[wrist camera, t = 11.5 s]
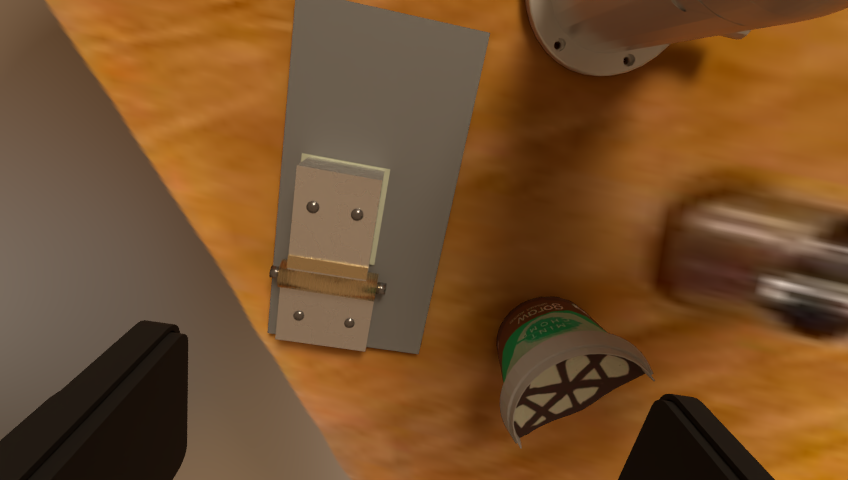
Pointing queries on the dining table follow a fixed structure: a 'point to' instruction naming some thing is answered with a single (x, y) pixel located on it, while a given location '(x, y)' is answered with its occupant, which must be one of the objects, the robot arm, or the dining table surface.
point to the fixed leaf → (324, 308)
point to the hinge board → (383, 139)
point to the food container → (558, 363)
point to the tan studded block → (334, 218)
